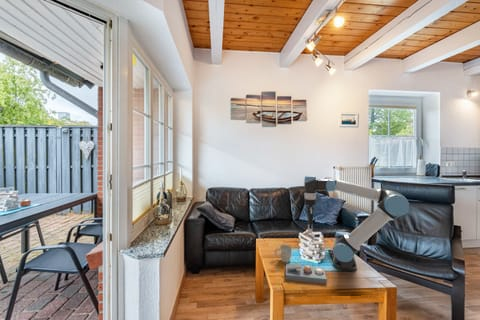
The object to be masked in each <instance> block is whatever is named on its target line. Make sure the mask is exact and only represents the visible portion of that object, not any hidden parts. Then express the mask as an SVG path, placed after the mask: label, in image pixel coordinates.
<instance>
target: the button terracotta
mask: <svg viewBox="0 0 480 320" xmlns="http://www.w3.org/2000/svg"><path fill="white" fill-rule="evenodd" d="M303 266H304V272H305V273H311V267H312V266H311V265H308V264H305V265H303Z"/></svg>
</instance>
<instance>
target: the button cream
mask: <svg viewBox="0 0 480 320" xmlns="http://www.w3.org/2000/svg"><path fill="white" fill-rule="evenodd" d="M316 274H318V275H323V270H322V269H319V268H317V269H316Z"/></svg>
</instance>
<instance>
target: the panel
mask: <svg viewBox="0 0 480 320" xmlns="http://www.w3.org/2000/svg"><path fill="white" fill-rule="evenodd" d="M288 264H289V263H288ZM288 264H287V263H286V265H285V280H287V281H296V282H304V283H313V284H314V283H315V284H322V285H323V284H324V285H327V283H328V280H327V275H326V273H325V268H324V267H319V266H311V273H305V272H304V266H305V265H301V269H292V270H289V269H288ZM317 268H319V269H322V270H323V275H318V274H316V269H317Z"/></svg>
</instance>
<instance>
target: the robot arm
mask: <svg viewBox="0 0 480 320" xmlns="http://www.w3.org/2000/svg"><path fill="white" fill-rule="evenodd" d="M303 184H304V186H303V188H304V190H303V191H304V193H303V196H304V205H306V210H307V211H306V213H307V233H308V234H313V225H314V210H315V209H314V206H316V205H317V191H320V192H321V191H322V192H323V191H324V192H335V191H337V192H340V193H344V194H347V195H351V196H356V197H359V198H363V199H367V200H371V201H374V202H375V203H376V204H377V205H376V209H375V210H374V211H373V212H372V213H371V214H369V216H367V218H365V219H364V220H363V221H362V222H361V223H360V224H359V225H358V226H357V227H355V228H354V229H353V230H352V231H351V232H347V231H336V232H335V235H334V237H335V240H334V244H333V247H332V252H333V259H332V266H333V267H334V268H336V269H338V270H342V271H345V272H353V271H356V270H357V269H358V266H357V261H356V259H355V255H356V254H357V253H358V252H359V251H360V250H361V248H360V247H361V246H362V245H363V244H364V243H365V242H366V241H367V240H369V239H370V238H371V237H372V236H373V235H374V234H376V232H378V231H379V230H380V229H381V228H382V227H383V226H385V225H386V224H387V223H388V222H390V221H395V220H396V219H398V218H399V217H402V216H404V215H406V214H407V213H408V212H409V209H410V202H409V200H408V199H407V198H406V197H405V196H404V195H403V194H402V193H400V192H399V191H394V190H391V189H390V190H388V189H385V188H384V189H383V188H379V189H377V188H372V187H369V186H365V185H360V184H356V183H352V182H348V181H345V180H340V179H335V178H333V177H329V176H328V177H327V176H326V177H325V178H322V179H320V178H319V179H318V178H317V177H316V176H315V175H306V176H304V181H303Z"/></svg>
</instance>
